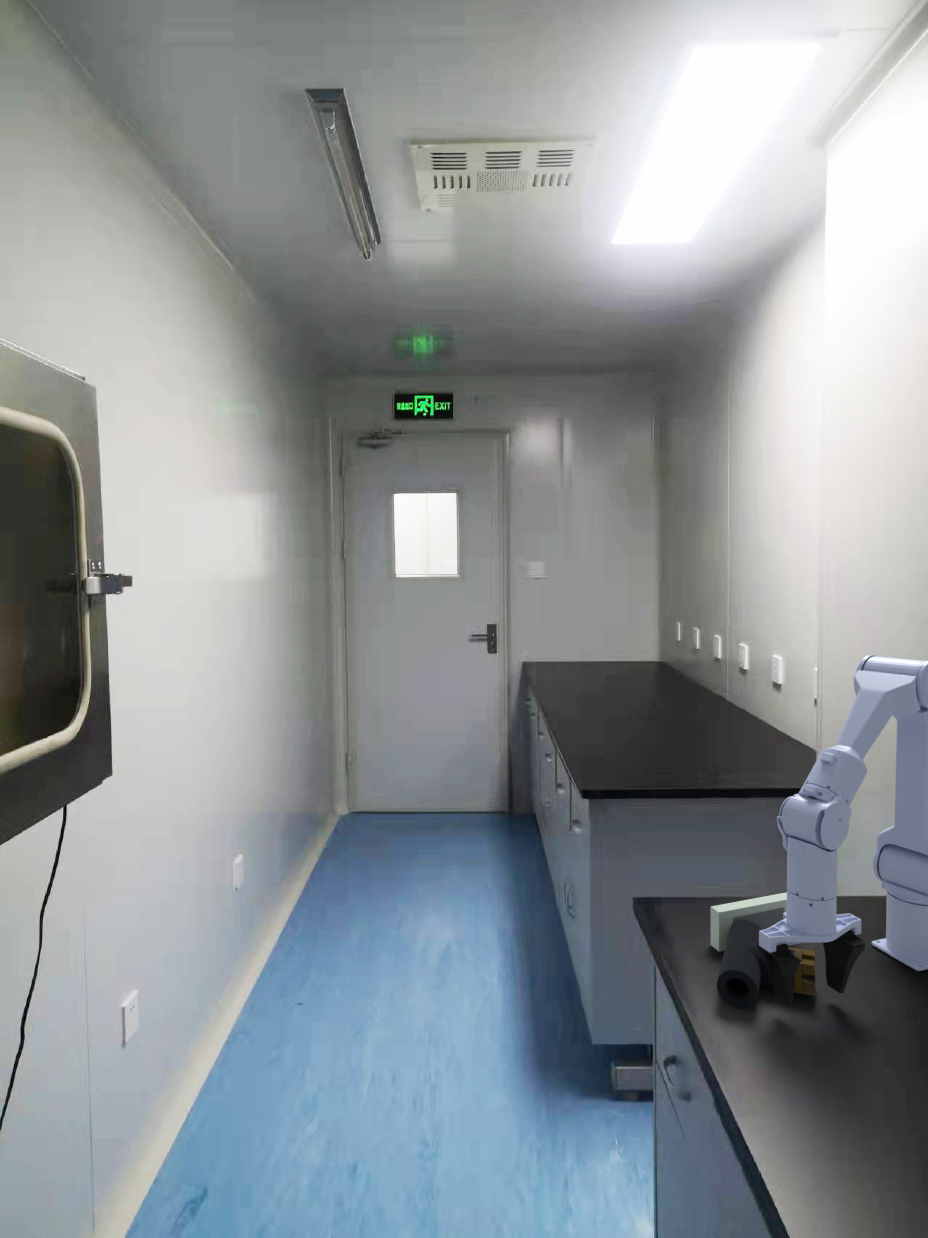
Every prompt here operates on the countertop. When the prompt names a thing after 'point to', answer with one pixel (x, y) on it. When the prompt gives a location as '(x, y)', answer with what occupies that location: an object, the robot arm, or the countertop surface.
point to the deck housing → (745, 916)
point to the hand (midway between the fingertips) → (810, 995)
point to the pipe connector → (756, 968)
